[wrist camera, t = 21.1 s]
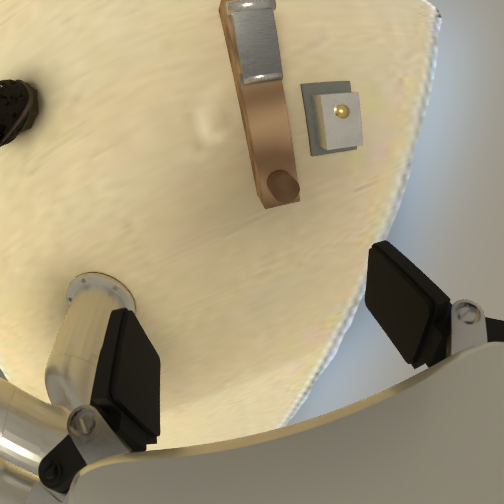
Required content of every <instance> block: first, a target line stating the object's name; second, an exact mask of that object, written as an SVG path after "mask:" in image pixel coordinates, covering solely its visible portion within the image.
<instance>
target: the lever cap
mask: <svg viewBox="0 0 504 504" xmlns="http://www.w3.org/2000/svg"><path fill="white" fill-rule="evenodd" d="M310 100H311V107H312V114H313V122H314V129H315V137H316V145H318V146H320V147H322V148H324V149H326V150H332V149H339V148H346V147H353V146H361V145H363V135H362V122H361V111H360V102H359V93H357V92H333V93H320V94H310Z"/></svg>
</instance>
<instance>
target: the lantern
mask: <svg viewBox="0 0 504 504" xmlns="http://www.w3.org/2000/svg"><path fill="white" fill-rule="evenodd" d="M1 86H3V87H1ZM37 114H38V102H37V91H36V90H35V89H34V88H33V87H31V86H30V85H29V84H28V83H24V82H23V81H22V80H15V81H14V80H2V81H0V147H1V146H3V145H4V144H5V145H6V144H8V143H10V142H11V141H13V140H14V139H15V138H16V137H17V136H18V134H19V133H20V132H22V131H25V130H27V129H30V128H31V126H32V124H33V122H34V120H35V118H36V116H37ZM10 136H11V137H10Z"/></svg>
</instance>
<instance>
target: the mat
mask: <svg viewBox="0 0 504 504" xmlns="http://www.w3.org/2000/svg"><path fill="white" fill-rule="evenodd" d="M301 90H302V96H303V102H304V108H305V115H306V122H307V129H308V136H309V143H310V151H311V156H317V155H323V154H329V153H336V152H342V151H349V150H356V149H357V146H353V147H346V148H339V149H332V150H326V149H324V148H322V147H320V146H318V145H316V137H315V129H314V122H313V114H312V107H311V100H310V94H320V93H333V92H351V86H350V81H338V82H322V83H309V84H301Z"/></svg>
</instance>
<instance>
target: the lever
mask: <svg viewBox="0 0 504 504" xmlns="http://www.w3.org/2000/svg"><path fill="white" fill-rule="evenodd" d="M275 9H276V2H275V0H234V1H227V2H226V11H227V14H228V15H231V18H232V24H233V29H234V34H235V40H236V45H237V51H238V56H239V62H240V67H241V73H242V79H243V83H244V84H249V83H255V82H261V81H268V80H275V79H282V78H283V73H282V66H281V59H280V52H279V45H278V38H277V31H276V25H275V19H274V13H273V10H275Z"/></svg>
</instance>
